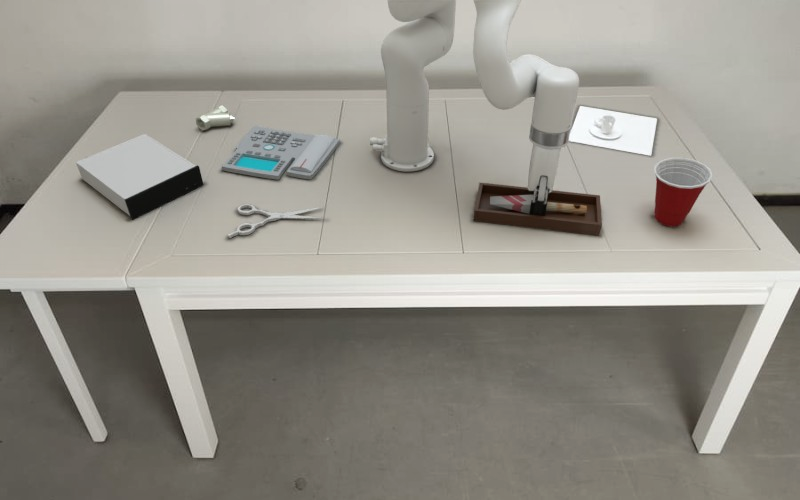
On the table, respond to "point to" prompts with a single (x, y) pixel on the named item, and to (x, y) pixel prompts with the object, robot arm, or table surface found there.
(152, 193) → the disc drive
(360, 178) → the table surface
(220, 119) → the pipe fitting
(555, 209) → the paintbrush
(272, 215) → the scissors
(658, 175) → the plastic cup
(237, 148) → the office telephone
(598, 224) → the tray
